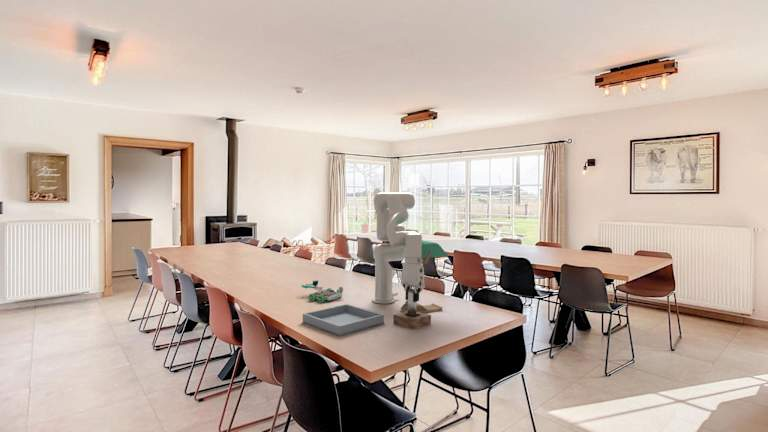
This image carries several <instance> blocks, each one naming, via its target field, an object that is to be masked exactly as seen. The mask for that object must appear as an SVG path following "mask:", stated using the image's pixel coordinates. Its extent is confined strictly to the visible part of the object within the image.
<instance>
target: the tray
mask: <svg viewBox="0 0 768 432" xmlns="http://www.w3.org/2000/svg"><path fill="white" fill-rule="evenodd" d="M302 323H304V324H306V325H308V326H311V327H314V328H316V329H320V330H322V331H325V332H327V333H330V334H333V335H336V336H338V337H340V336H344V335H348V334H351V333H354V332H359V331H362V330H365V329H366V330H367V329H368V328H369V329H370V328H373V327H377V326H379V325H384V324H385V314H384V313H380V312H377V311H373V310H369V309H365V308H363V307H359V306H355V305H352V304H348V303H345V304H340V305H335V306H332V307H328V308H322V309H317V310H315V311H314V310H313V311H308V312H305V313H304V312H303V313H302Z"/></svg>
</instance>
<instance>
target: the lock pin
mask: <svg viewBox="0 0 768 432" xmlns="http://www.w3.org/2000/svg"><path fill="white" fill-rule="evenodd" d="M414 293H415V292H414V288H412V289H408V313H407V316H409V317H416V305H417V302H418V301H417V302H414V301H413V294H414Z"/></svg>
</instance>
